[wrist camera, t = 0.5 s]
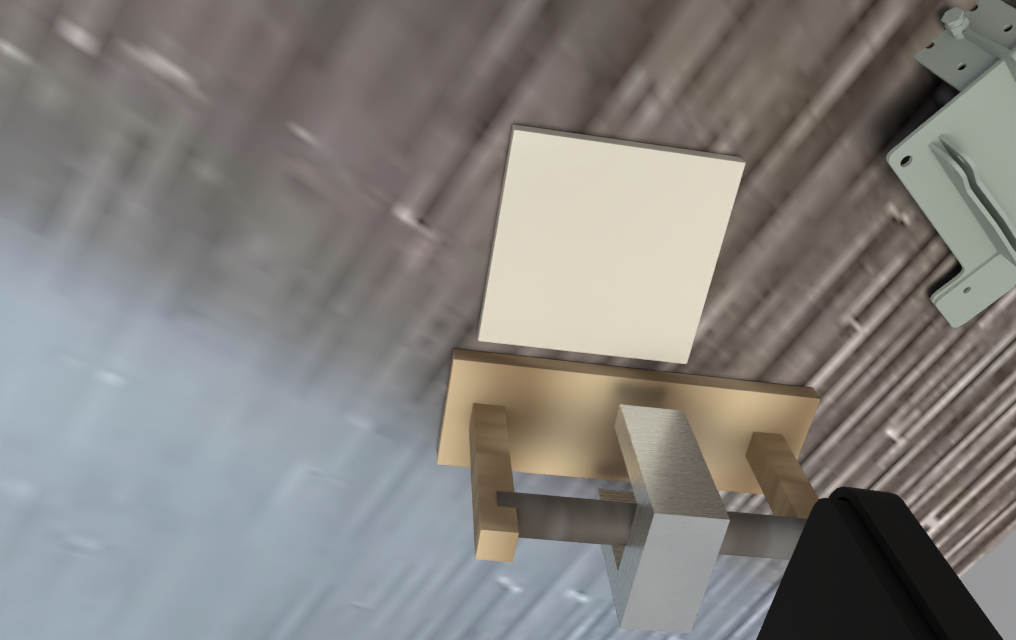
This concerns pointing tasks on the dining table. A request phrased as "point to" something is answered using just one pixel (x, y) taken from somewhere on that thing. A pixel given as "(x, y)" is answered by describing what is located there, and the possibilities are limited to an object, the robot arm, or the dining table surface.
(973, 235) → the metal bracket
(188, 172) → the dining table surface
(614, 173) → the square tile
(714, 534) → the notched grey block
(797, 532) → the rail stand
